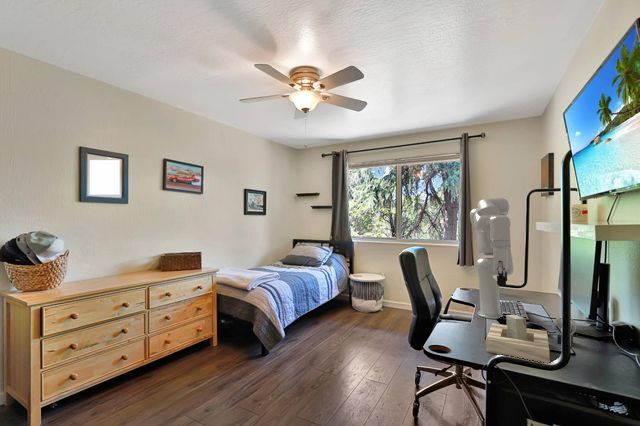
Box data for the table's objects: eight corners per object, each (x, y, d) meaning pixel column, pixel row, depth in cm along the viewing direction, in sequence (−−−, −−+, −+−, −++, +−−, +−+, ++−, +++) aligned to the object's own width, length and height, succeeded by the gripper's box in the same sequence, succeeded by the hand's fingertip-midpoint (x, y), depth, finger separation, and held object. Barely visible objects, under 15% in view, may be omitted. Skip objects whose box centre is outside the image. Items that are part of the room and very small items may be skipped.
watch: (554, 338, 129) (552, 313, 130) (578, 343, 124) (577, 316, 124) (551, 342, 126) (550, 316, 126) (576, 347, 120) (574, 320, 120)
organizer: (492, 334, 136) (492, 323, 137) (547, 343, 125) (546, 331, 125) (486, 351, 119) (485, 338, 119) (550, 363, 107) (549, 349, 107)
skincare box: (528, 349, 119) (526, 318, 120) (518, 350, 119) (516, 319, 119) (517, 343, 126) (515, 314, 126) (507, 344, 125) (505, 314, 126)
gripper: (492, 242, 140) (494, 278, 140) (488, 246, 126) (490, 286, 126) (511, 242, 136) (513, 279, 136) (509, 246, 122) (511, 288, 122)
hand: (502, 283), depth 131 cm, fingers open, 9 cm apart
